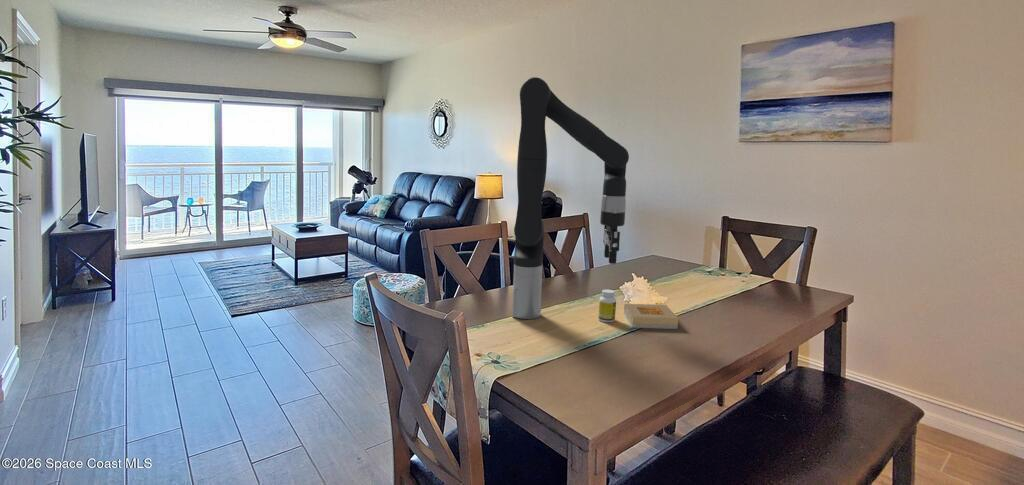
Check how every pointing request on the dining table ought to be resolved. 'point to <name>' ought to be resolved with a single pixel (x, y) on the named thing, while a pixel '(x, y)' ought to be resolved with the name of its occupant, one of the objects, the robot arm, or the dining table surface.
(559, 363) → the dining table surface
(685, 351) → the dining table surface
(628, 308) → the block
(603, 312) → the supplement bottle
